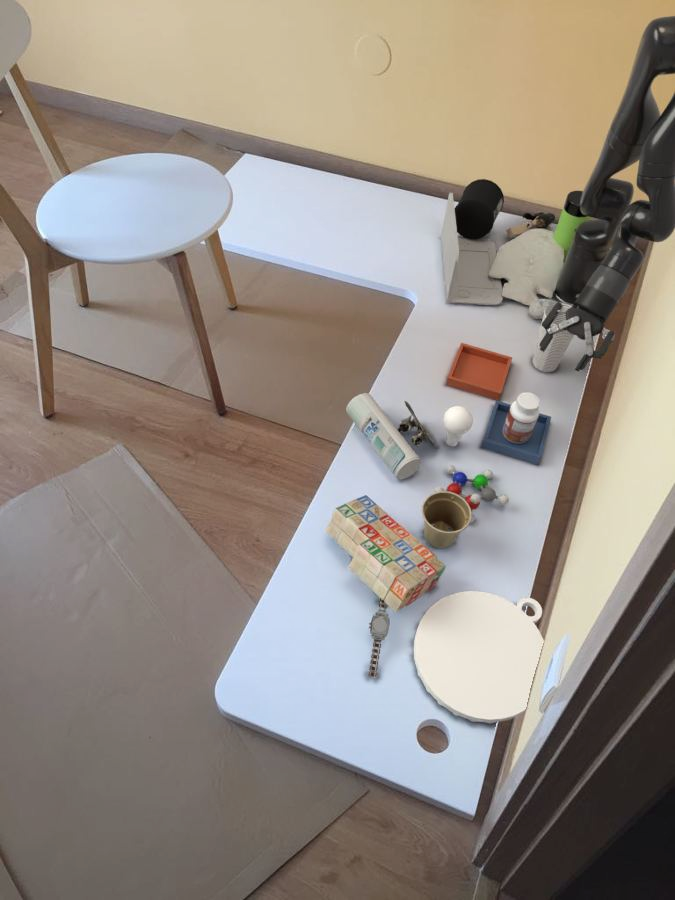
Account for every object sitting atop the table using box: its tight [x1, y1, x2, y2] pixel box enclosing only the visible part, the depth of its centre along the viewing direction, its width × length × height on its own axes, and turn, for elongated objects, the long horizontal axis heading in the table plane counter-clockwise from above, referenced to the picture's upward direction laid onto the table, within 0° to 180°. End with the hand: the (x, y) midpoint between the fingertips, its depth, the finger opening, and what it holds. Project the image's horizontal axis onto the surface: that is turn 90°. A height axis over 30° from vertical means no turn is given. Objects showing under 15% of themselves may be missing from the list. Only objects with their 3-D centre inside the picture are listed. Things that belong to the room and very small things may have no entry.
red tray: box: [445, 342, 513, 401], centre depth 173 cm, size 13×13×2 cm
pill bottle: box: [503, 392, 541, 444], centre depth 159 cm, size 6×6×11 cm
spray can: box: [345, 392, 422, 480], centre depth 157 cm, size 6×6×20 cm
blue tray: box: [480, 400, 552, 466], centre depth 162 cm, size 13×13×2 cm
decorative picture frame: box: [397, 400, 439, 450], centre depth 158 cm, size 12×6×11 cm
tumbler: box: [554, 190, 591, 262], centre depth 198 cm, size 8×8×17 cm
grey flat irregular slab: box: [489, 228, 565, 307], centre depth 197 cm, size 18×5×30 cm
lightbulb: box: [442, 405, 474, 447], centre depth 157 cm, size 6×6×11 cm
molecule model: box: [433, 464, 510, 524], centre depth 151 cm, size 15×7×14 cm
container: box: [454, 178, 505, 239], centre depth 206 cm, size 12×12×18 cm
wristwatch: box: [368, 597, 391, 678], centre depth 132 cm, size 4×14×5 cm, turn 170°
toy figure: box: [505, 211, 556, 239], centre depth 208 cm, size 7×6×15 cm
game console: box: [440, 192, 504, 306], centre depth 192 cm, size 28×15×15 cm, turn 178°
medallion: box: [413, 590, 545, 725], centre depth 131 cm, size 24×27×2 cm
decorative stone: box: [528, 298, 573, 320], centre depth 185 cm, size 13×7×5 cm, turn 79°
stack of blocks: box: [325, 494, 447, 613], centre depth 137 cm, size 21×6×12 cm
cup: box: [532, 302, 575, 373], centre depth 172 cm, size 8×8×16 cm
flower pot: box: [421, 491, 473, 549], centre depth 143 cm, size 9×9×9 cm
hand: (558, 360), depth 157 cm, fingers open, 8 cm apart
